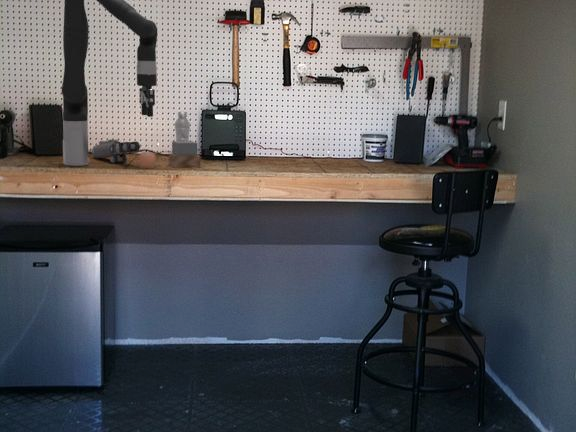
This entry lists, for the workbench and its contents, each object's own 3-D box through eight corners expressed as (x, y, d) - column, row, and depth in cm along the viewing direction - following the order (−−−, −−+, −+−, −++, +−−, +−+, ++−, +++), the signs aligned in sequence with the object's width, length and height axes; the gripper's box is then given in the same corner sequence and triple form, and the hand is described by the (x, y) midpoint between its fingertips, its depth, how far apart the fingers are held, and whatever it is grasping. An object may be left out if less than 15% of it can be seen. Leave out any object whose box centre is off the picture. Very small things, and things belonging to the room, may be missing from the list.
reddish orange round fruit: (141, 168, 293) (141, 155, 292) (138, 166, 299) (137, 153, 298) (157, 168, 296) (156, 155, 295) (153, 166, 301) (153, 153, 300)
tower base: (175, 169, 297) (175, 156, 296) (168, 165, 306) (168, 153, 305) (200, 168, 301) (200, 155, 300) (192, 165, 310) (192, 153, 309)
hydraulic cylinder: (127, 161, 294) (125, 135, 293) (87, 166, 323) (85, 142, 322) (144, 160, 299) (142, 135, 298) (103, 165, 327) (101, 142, 327)
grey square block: (177, 156, 297) (177, 143, 296) (172, 153, 304) (172, 141, 303) (197, 155, 300) (197, 143, 299) (191, 153, 307) (191, 141, 307)
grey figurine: (182, 160, 322) (182, 112, 318) (171, 158, 326) (171, 111, 322) (193, 159, 327) (193, 112, 323) (182, 157, 331) (182, 111, 327)
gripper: (132, 72, 295) (133, 114, 298) (141, 73, 282) (142, 117, 285) (151, 73, 298) (152, 114, 301) (161, 73, 286) (161, 117, 289)
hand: (147, 115), depth 293 cm, fingers open, 8 cm apart
